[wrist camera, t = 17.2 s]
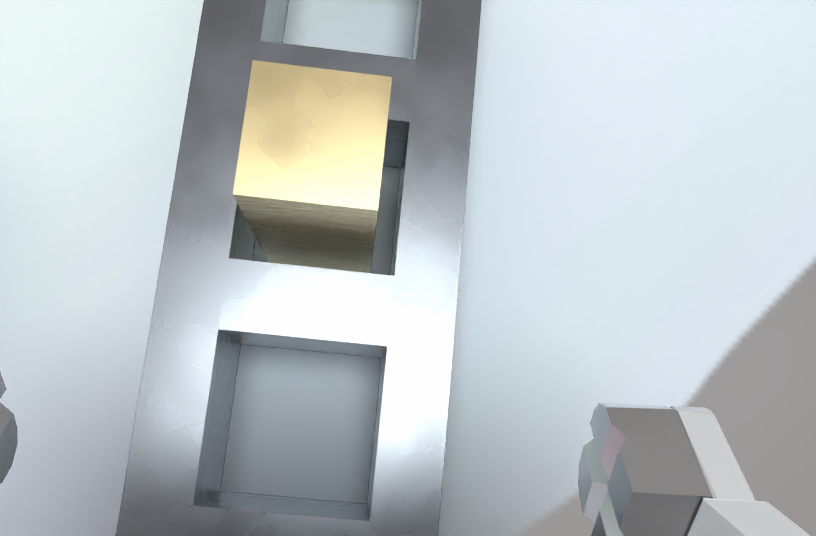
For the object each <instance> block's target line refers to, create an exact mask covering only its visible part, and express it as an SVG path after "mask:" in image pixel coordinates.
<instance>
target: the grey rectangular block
mask: <svg viewBox="0 0 816 536" xmlns="http://www.w3.org/2000/svg"><path fill="white" fill-rule="evenodd" d="M287 7H288V0H204V3H203V9H202V15H201V21H200V27H199V33H198V39H197V45H196V51H195V57H194V63H193V69H192V75H191V82H190V88H189V94H188V100H187V106H186V112H185V118H184V124H183V130H182V136H181V142H180V148H179V155H178V161H177V167H176V173H175V179H174V185H173V191H172V197H171V203H170V209H169V215H168V221H167V228H166V234H165V240H164V246H163V252H162V258H161V264H160V270H159V276H158V282H157V288H156V294H155V300H154V307H153V313H152V319H151V325H150V331H149V337H148V343H147V349H146V355H145V361H144V367H143V373H142V380H141V386H140V392H139V398H138V404H137V410H136V416H135V422H134V428H133V434H132V440H131V446H130V453H129V459H128V465H127V471H126V477H125V483H124V489H123V495H122V501H121V507H120V513H119V519H118V525H117V532H116V536H438V528H439V516H440V503H441V491H442V479H443V467H444V454H445V442H446V430H447V418H448V405H449V393H450V381H451V368H452V356H453V344H454V332H455V319H456V307H457V295H458V282H459V270H460V258H461V246H462V233H463V221H464V209H465V196H466V184H467V172H468V160H469V147H470V135H471V123H472V110H473V98H474V86H475V74H476V61H477V49H478V37H479V25H480V12H481V0H418V3H417V13H416V23H415V33H414V43H413V53H412V59H407V58H399V57H390V56H382V55H374V54H365V53H357V52H349V51H341V50H332V49H324V48H316V47H307V46H299V45H291V44H283V36H284V29H285V21H286V14H287ZM253 60H255V61H264V62H272V63H280V64H289V65H297V66H305V67H313V68H322V69H330V70H338V71H347V72H355V73H363V74H371V75H380V76H388V77H392V84H391V93H390V102H389V112H388V121H387V130H386V140H385V149H384V158H383V166H390V167H398V168H401V172H400V182H399V192H398V202H397V212H396V222H395V232H394V242H393V252H392V262H391V272H390V275H382V274H372V273H363V272H353V271H344V270H334V269H325V268H315V267H306V266H296V265H287V264H278V263H268V262H259V261H252V258H253V251H254V244H255V235H254V233H253V231H252V229H251V227H250V225H249V224H248V222H247V220H246V218H245V216H244V214H243V212H242V211H241V209H240V207H239V205H238V203H237V201H236V199H235V197H234V196H233V189H234V183H235V176H236V169H237V162H238V156H239V149H240V142H241V135H242V129H243V122H244V115H245V108H246V102H247V95H248V88H249V81H250V75H251V68H252V61H253ZM241 344H246V345H256V346H266V347H276V348H286V349H296V350H306V351H315V352H325V353H335V354H345V355H355V356H365V357H375V358H382V361H381V371H380V381H379V391H378V401H377V411H376V421H375V431H374V441H373V451H372V461H371V471H370V481H369V491H368V501H367V504H360V503H349V502H338V501H327V500H316V499H304V498H293V497H282V496H271V495H260V494H249V493H238V492H227V491H220V488H221V481H222V474H223V467H224V460H225V453H226V445H227V438H228V431H229V424H230V417H231V409H232V402H233V395H234V388H235V381H236V373H237V366H238V359H239V352H240V345H241Z"/></svg>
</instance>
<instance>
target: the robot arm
mask: <svg viewBox="0 0 816 536" xmlns="http://www.w3.org/2000/svg"><path fill="white" fill-rule="evenodd" d="M5 391H6V387H5V384H4V381H3V378H2V376H1V373H0V398H1V397H2V395H3V394H4V392H5ZM590 425H591V428H592V432H593V436H594V439H593V440H592V441H590V442H589V443H588V444H586V445H585V446H584V447H583V451H582V455H581V459H580V463H579V479H578V486H579V496H580V502H581V506H582V510H583V514H584V515H585V516H586V517H587V518H588V519H589V520H590V521H591V522H592V523H593V524H594V529H593V532H592V535H591V536H810V535H809V534H807V533H806V532H805V531H804V530H802V529H801V528H800V527H798V526H797V525H796V524H795V523H793V522H792V521H791V520H790V519H788V518H787V517H786V516H784V515H783V514H782V513H781V512H779V511H778V510H777V509H775V508H774V507H773V506H772V505H771V504H769V503H768V502H763V501H756V500H755V498H754V496H753V494H752V492H751V490H750V488H749V486H748V483H747V481H746V479H745V477H744V476H743V473H742V471H741V469H740V467H739V465H738V463H737V461H736V459H735V457H734V455H733V453H732V451H731V449H730V447H729V445H728V442H727V440H726V439H725V436H724V434H723V432H722V430H721V428H720V426H719V424H718V422H717V420H716V418H715V416H714V414H713V413H712V412H711V411H710V410H709V409H708V408H699V407H676V406H671V407H666V406H647V405H628V404H608V403H599V404H598V406H597V407H596V408H595V410H594V413H593V416H592V419H591V423H590ZM16 447H17V425H16V422H15V418H14V414H13V413H12V412H11V411H9V410H8V409H7V408H6V407H5V406H4V405H3V404H1V403H0V484H1V483H2V482H3V480H4V478H5V476H6V475H7V473H8V471H9V469H10V467H11V466H12V463H13V459H14V455H15V451H16Z"/></svg>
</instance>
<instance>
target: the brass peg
mask: <svg viewBox="0 0 816 536" xmlns="http://www.w3.org/2000/svg"><path fill="white" fill-rule="evenodd" d="M391 84H392V77H388V76H380V75H371V74H363V73H355V72H347V71H338V70H330V69H322V68H313V67H305V66H297V65H289V64H280V63H272V62H264V61H255V60H253V61H252V68H251V75H250V81H249V88H248V95H247V102H246V108H245V115H244V122H243V129H242V135H241V142H240V149H239V156H238V162H237V169H236V176H235V183H234V189H233V196H234V197H235V199H236V201H237V203H238V205H239V207H240V209H241V211H242V212H243V214H244V216H245V218H246V220H247V222H248V224H249V225H250V227H251V229H252V231H253V233H254V235H255V237H256V239H257V240H258V242H259V244H260V246H261V248H262V250H263V252H264V254H265V255H266V257H267V259H268V261H269V263H278V264H287V265H296V266H306V267H315V268H325V269H334V270H344V271H353V272H363V273H371V264H372V256H373V248H374V239H375V231H376V223H377V214H378V205H379V196H380V187H381V177H382V168H383V158H384V149H385V140H386V130H387V121H388V112H389V102H390V93H391Z"/></svg>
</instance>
